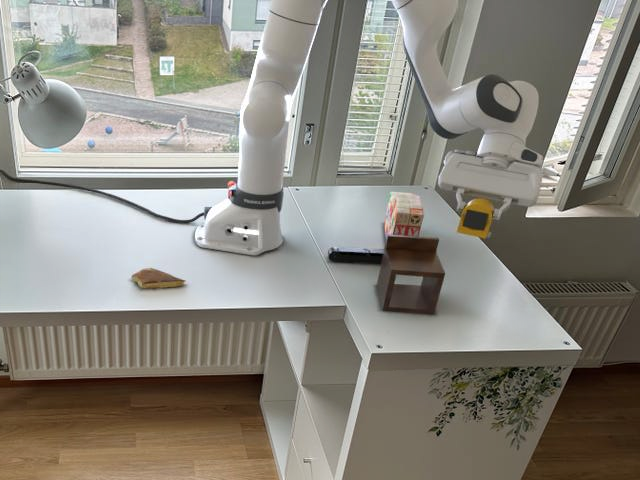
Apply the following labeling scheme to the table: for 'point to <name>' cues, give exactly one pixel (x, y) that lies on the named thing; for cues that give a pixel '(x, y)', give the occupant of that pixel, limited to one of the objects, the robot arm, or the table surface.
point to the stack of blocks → (404, 214)
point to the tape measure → (476, 218)
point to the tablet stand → (355, 255)
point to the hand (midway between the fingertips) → (477, 214)
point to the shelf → (410, 274)
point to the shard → (155, 279)
